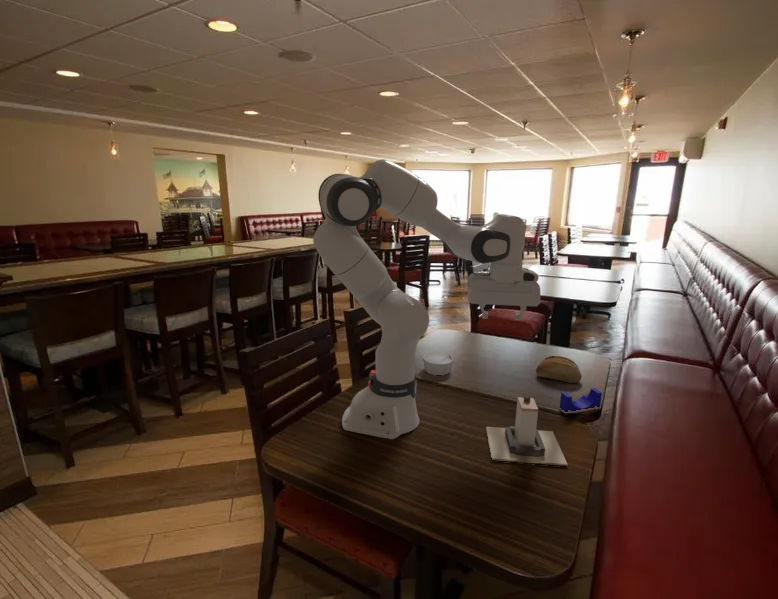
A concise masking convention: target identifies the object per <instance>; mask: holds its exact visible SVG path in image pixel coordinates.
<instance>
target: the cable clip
mask: <svg viewBox="0 0 778 599" xmlns="http://www.w3.org/2000/svg"><path fill="white" fill-rule="evenodd" d="M602 394H603V392H602V391H601V390H599V389H597V388H595V387H592V388H590V390H589V393H588V394H584V395H582V396H581V397H580V398H578V399H575V400H573V396H572V395H570V394H569V393H568V392H567V391H563V392H560V401H559V407H560V408H561V409H562V410H564V411H565V412H568V410H571V411H576V410H581V409H588V408H594V407H595V406H597V407H599V408H600V409H601V402H602V396H603V395H602Z"/></svg>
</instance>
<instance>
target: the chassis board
mask: <svg viewBox="0 0 778 599" xmlns="http://www.w3.org/2000/svg"><path fill="white" fill-rule="evenodd" d="M485 431H486V436H487V437H488V438H487V442H488V448H490V449H489V453H491V454H490V459H491V458H492V460H499V461H518V462H528V463H529V462H530V463H541V464H551V465H552V464H553V465H566V466H567V467H568V465H569V464H568V463H567V460H566V458H565V456H564V453H563V451H562V450H561V447H560V444H559V443H558V440H557V438H556V436H555V434H554V431H552V430H541V429H540V430H538V429H537V428H536V435H535V444H534V447H532V446H519V445H516V443H515V439H514V432H515V425H514V426H513V425H509V426H505V427H496V426H495V427H494V426H486V427H485ZM492 460H491V461H492Z"/></svg>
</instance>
